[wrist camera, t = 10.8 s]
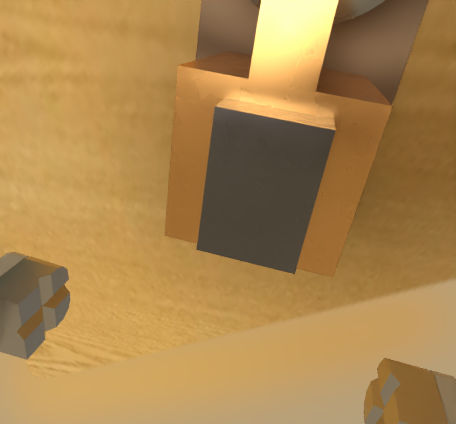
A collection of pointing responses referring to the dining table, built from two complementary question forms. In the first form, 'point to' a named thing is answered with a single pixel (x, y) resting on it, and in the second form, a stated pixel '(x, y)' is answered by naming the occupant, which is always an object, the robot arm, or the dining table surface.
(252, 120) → the grey t-shaped block
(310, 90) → the wooden slotted box
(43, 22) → the dining table surface
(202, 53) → the walnut base board
